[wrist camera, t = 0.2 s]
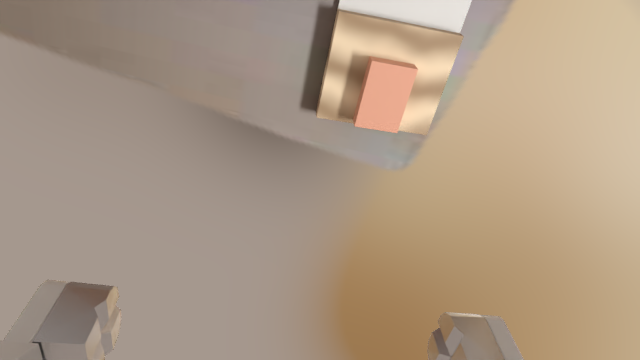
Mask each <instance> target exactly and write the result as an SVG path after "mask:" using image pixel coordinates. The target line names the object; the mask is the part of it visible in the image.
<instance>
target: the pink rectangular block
mask: <svg viewBox="0 0 640 360" xmlns="http://www.w3.org/2000/svg"><path fill="white" fill-rule="evenodd" d="M417 72H418V68H417V67H416V66H415V64H410V63H405V62H399V61H394V60H389V59H383V58H378V57H373V56H370V57H369V60H368V64H367V68H366V72H365V76H364V79H363V83H362V87H361V91H360V94H359V98H358V102H357V106H356V110H355V113H354V117H353V122H354V126H356V127H362V128H369V129H375V130H381V131H387V132H394V133H397V132H398V129H399V126H400V123H401V120H402V117H403V114H404V111H405V108H406V105H407V102H408V99H409V96H410V93H411V90H412V87H413V84H414V81H415V78H416V75H417Z"/></svg>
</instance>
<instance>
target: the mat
mask: <svg viewBox="0 0 640 360" xmlns="http://www.w3.org/2000/svg"><path fill="white" fill-rule="evenodd" d="M471 1H472V0H339V4H338V9H342V10H347V11H352V12H357V13H362V14H367V15H371V16H376V17H381V18H386V19H391V20H396V21H401V22H406V23H411V24H416V25H421V26H426V27H431V28H436V29H441V30H446V31H451V32H456V33H460V31H461V28H462V25H463V23H464V20H465V17H466V15H467V12H468V9H469V7H470V4H471Z"/></svg>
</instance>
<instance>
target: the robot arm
mask: <svg viewBox="0 0 640 360" xmlns="http://www.w3.org/2000/svg"><path fill="white" fill-rule="evenodd" d="M118 298H119V293H118V288H117V287H114V286H106V285H96V284H87V283H77V282H66V281H56V280H46V281H45V282H44V283H42V284H41V285H40V286H39V288H38V289H37V291H36V292H35V294H34V295H33V297H32V298H31V300H30V301H29V303H28V304H27V306H26V307H25V309H24V310H23V312H22V313H21V315H20V316H19V317H18V319H17V321H16V322H15V324H14V325H13V326H12V328H11V330H10V331H9V333H8V334H7V335H6V337H5V338H4V340H3V341H0V360H105V357H104V356H106V355H107V354H108V353H109V352H111V351H112V350H113V349H114V346H115V343H116V341H117V338H118V334H119V330H120V325H121V310H120V309H119V308H118V307H117V306H116V303H117V300H118ZM438 323H439V326H440V328H438V329H437V330H435V331H434V332H432V334H431V336H430V339H429V341H428V358H429V360H524V359H523V357H522V355H521V353H520V351H519V349H518V348H517V345H516V344H515V341H514V340H513V338H512V336H511V334H510V332H509V330H508V328H507V326H506V324H505V322H504V320H503V319H502V318H501V317H499V316H488V315H478V314H463V313H449V312H445V313H443V314H442V315H441V316H440V318H439V320H438Z"/></svg>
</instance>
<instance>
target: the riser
mask: <svg viewBox="0 0 640 360" xmlns="http://www.w3.org/2000/svg"><path fill="white" fill-rule="evenodd" d="M463 37H464V36H462V35H461V34H460V33H456V32H451V31H446V30H441V29H436V28H431V27H426V26H421V25H416V24H411V23H406V22H401V21H396V20H391V19H386V18H381V17H376V16H371V15H367V14H362V13H357V12H352V11H347V10H342V9H337V13H336V18H335V23H334V28H333V32H332V37H331V42H330V47H329V52H328V56H327V61H326V66H325V71H324V76H323V80H322V85H321V90H320V95H319V99H318V104H317V109H316V116H317V118H324V119H330V120H336V121H342V122H348V123H354V122H353V117H354V113H355V110H356V106H357V102H358V98H359V94H360V91H361V87H362V83H363V79H364V76H365V72H366V68H367V64H368V60H369V57H370V56H373V57H378V58H383V59H389V60H394V61H399V62H405V63H410V64H415V66H416V67H417V68H418V72H417V75H416V78H415V81H414V84H413V87H412V90H411V93H410V96H409V99H408V102H407V105H406V108H405V111H404V114H403V117H402V120H401V123H400V126H399V129H398V131H404V132H411V133H417V134H423V135H427V132H428V130H429V127H430V124H431V122H432V119H433V116H434V114H435V111H436V108H437V106H438V103H439V100H440V98H441V95H442V93H443V90H444V87H445V85H446V82H447V79H448V77H449V74H450V71H451V69H452V66H453V63H454V61H455V58H456V55H457V53H458V50H459V47H460V45H461V42H462V39H463Z"/></svg>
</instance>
